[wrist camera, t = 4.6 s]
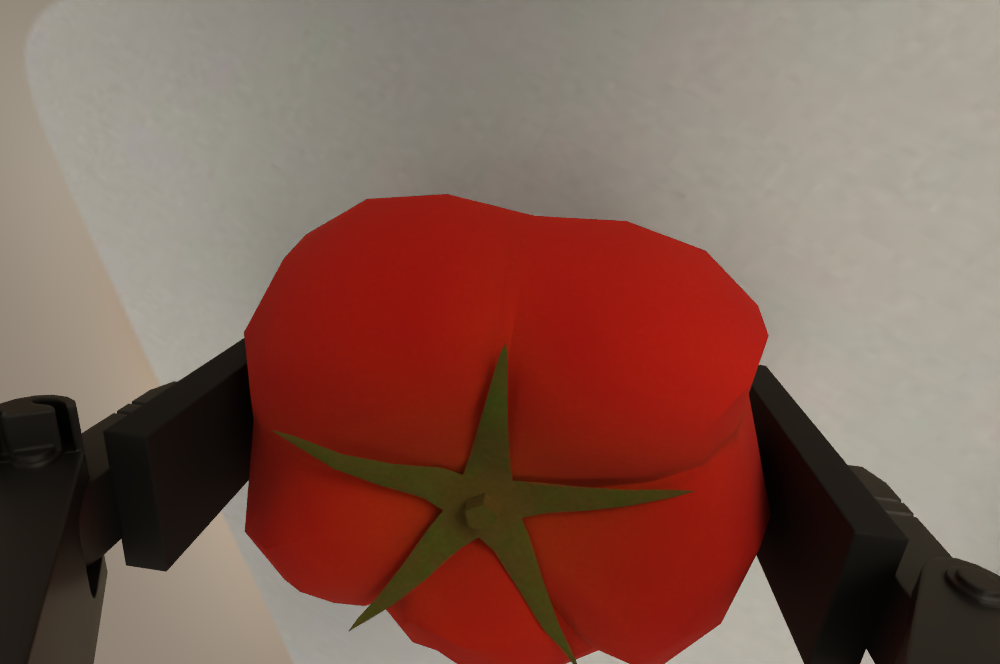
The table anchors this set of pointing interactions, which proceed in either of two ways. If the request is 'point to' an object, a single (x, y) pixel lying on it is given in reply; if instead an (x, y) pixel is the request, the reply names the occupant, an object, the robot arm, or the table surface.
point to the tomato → (507, 430)
